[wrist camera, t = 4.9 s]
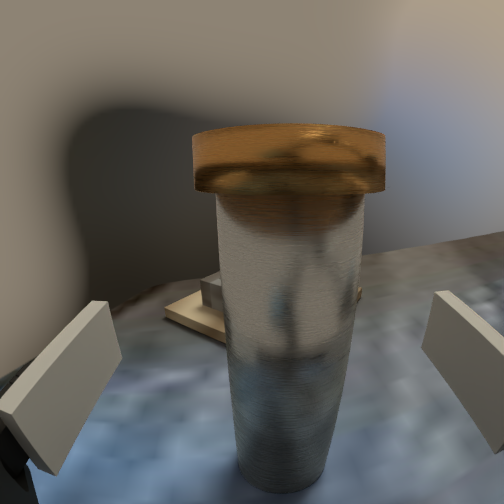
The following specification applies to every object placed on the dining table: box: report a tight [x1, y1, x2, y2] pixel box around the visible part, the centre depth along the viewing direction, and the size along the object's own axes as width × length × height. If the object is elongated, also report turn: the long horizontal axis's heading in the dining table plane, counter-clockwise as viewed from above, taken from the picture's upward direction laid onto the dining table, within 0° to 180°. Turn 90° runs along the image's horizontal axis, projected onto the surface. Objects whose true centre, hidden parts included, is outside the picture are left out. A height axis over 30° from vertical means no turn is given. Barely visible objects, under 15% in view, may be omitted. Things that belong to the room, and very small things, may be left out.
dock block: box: [164, 271, 362, 343], centre depth 29 cm, size 14×14×4 cm
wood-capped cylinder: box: [192, 123, 386, 494], centre depth 11 cm, size 6×6×14 cm
